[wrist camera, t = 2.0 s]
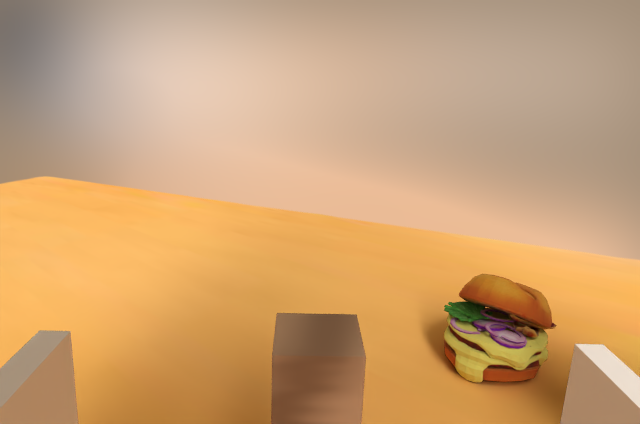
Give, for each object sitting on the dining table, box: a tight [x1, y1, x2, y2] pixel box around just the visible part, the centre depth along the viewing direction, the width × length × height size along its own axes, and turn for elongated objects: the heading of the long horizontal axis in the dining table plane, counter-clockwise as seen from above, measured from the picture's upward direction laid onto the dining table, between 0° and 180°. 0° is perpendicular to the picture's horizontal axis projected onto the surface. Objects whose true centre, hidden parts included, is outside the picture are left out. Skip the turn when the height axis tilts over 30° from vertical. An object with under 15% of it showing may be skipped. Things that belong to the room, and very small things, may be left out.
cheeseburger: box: [444, 274, 556, 382], centre depth 52 cm, size 10×11×10 cm
